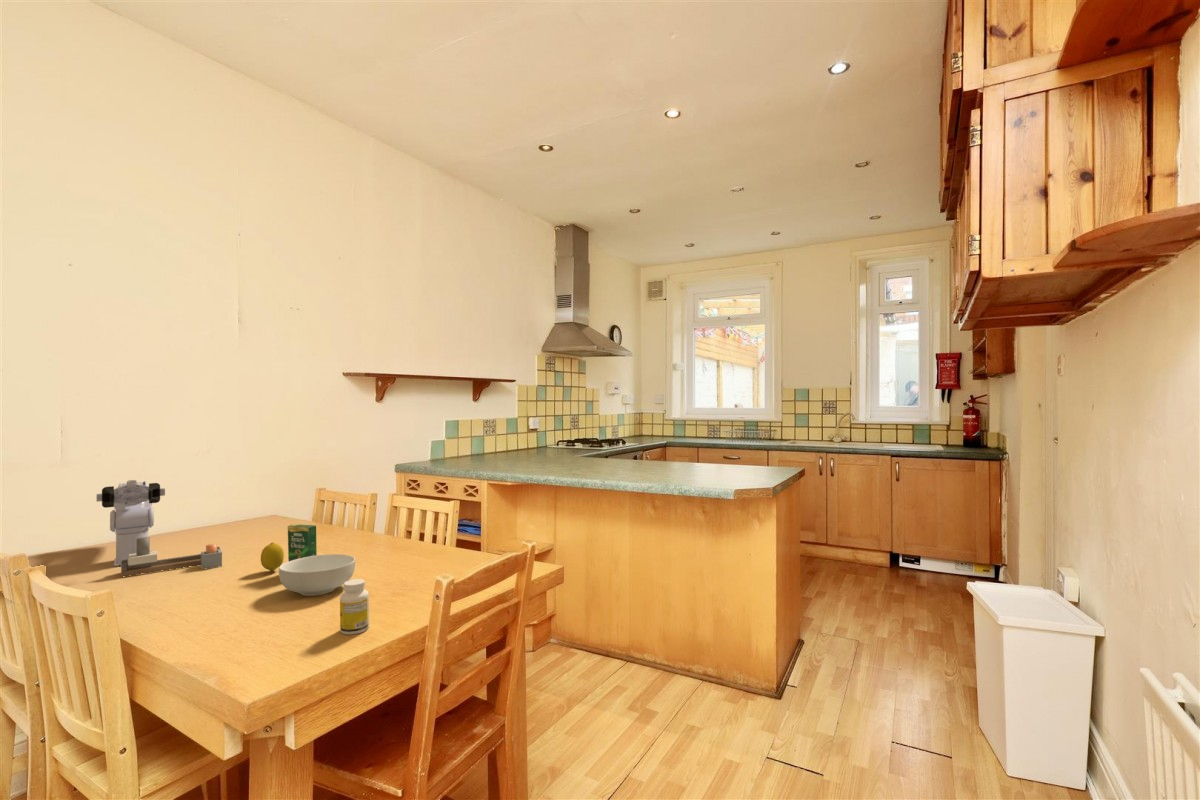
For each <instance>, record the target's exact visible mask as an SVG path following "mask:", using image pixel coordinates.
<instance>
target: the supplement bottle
mask: <svg viewBox="0 0 1200 800" xmlns="http://www.w3.org/2000/svg"><path fill="white" fill-rule="evenodd" d="M365 588H366V581H365V579H364V578H363V579H362V578H354V579H349V580H348V581H346V582H344V584H343V591H344V592H343V593H342V594H340V597H339V615H340V616H339V619H340V621H339V622H340V623H339V626H340V629H339V630H340V633H342V635H346V636H347V635H348V636H350V635H357V634H361V633H364V632H366V631H367V630H368V629H369V627H370V594H369V591H368V590H366V589H365Z"/></svg>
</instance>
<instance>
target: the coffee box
mask: <svg viewBox="0 0 1200 800" xmlns="http://www.w3.org/2000/svg"><path fill="white" fill-rule="evenodd" d="M287 549H288V550H287V551H288V552H287V553H288V554H287V555H288V562H289V561H292V560H295V559H299V558H304V557H309V556H316V555H317V553H318V550H317V525H315V524H313V525H312V524H300V523H295V524H290V525H288V526H287Z"/></svg>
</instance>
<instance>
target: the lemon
mask: <svg viewBox="0 0 1200 800" xmlns="http://www.w3.org/2000/svg"><path fill="white" fill-rule="evenodd" d="M284 559H285V553H284V549H283V547H282V546H281V545H280V544H278V543H275V542H270V543H269V544H267V545H266V546H264V548H263V549H262V551H261V553H260V563H261V565H262V567H263V568H264V569H265V570H269V572H275V571H276V569H279V567H280V566H281V565H282V564H284V563H283V562H284Z"/></svg>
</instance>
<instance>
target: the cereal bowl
mask: <svg viewBox="0 0 1200 800" xmlns="http://www.w3.org/2000/svg"><path fill="white" fill-rule="evenodd" d="M355 567H356V558H355V556H352V555H349V554H343V553H342V554H341V553H332V554H330V553H328V554H327V553H326V554H318V555H316V556H309V557H304V558H299V559H295V560H292V561H289V560H288V561H287V562H284V563H282V564H281V565H280V566H279V567H278V577H279V578H278V579H279V581H280V584H281V585H282V586H283V587H284V588H285V589H286V590H288V591H291V592H294V593H299V594H300V595H301V596H306V597H314V596H322V595H326V594H329V593H332V592H334V591H335V590H336V589H337V588H339V587H341V586H344V582H346V581H349V580H351V578H352V577H353V575H354V572H355Z"/></svg>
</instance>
